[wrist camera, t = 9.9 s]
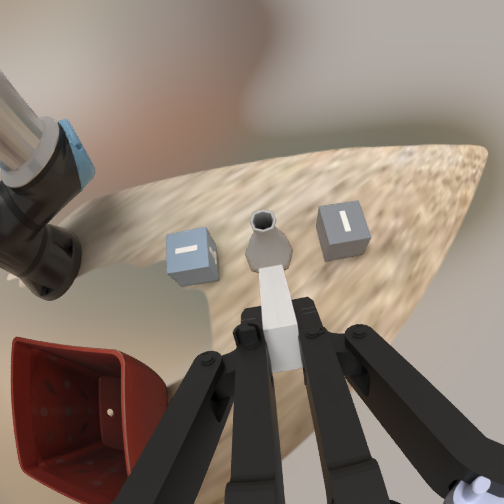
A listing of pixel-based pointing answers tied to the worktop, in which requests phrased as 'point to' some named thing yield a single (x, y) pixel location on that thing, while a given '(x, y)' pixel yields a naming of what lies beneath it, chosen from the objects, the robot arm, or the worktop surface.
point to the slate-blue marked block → (192, 257)
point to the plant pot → (82, 416)
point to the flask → (267, 243)
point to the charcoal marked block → (342, 230)
